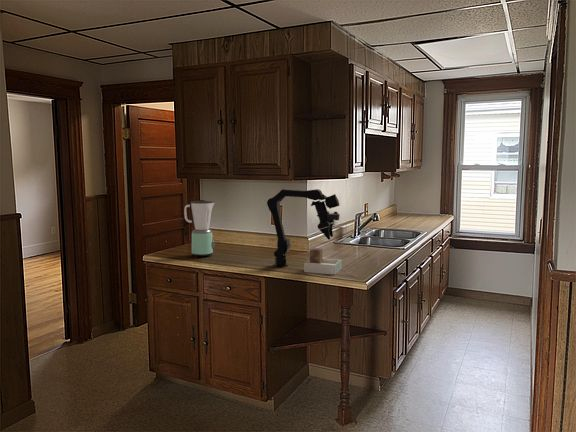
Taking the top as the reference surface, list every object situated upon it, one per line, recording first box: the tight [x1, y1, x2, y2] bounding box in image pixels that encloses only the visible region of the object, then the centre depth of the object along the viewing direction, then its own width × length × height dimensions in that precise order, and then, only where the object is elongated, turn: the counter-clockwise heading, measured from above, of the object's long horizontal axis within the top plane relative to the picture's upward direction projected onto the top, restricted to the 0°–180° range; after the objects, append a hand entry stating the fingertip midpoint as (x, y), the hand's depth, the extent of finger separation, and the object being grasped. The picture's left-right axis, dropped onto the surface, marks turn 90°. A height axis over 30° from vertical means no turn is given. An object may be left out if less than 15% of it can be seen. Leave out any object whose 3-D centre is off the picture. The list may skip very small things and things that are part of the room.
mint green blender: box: [183, 199, 216, 258], centre depth 302 cm, size 19×13×35 cm
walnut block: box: [308, 247, 324, 264], centre depth 270 cm, size 6×6×8 cm
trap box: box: [303, 257, 342, 275], centre depth 266 cm, size 17×15×5 cm
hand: (330, 238), depth 268 cm, fingers open, 9 cm apart
